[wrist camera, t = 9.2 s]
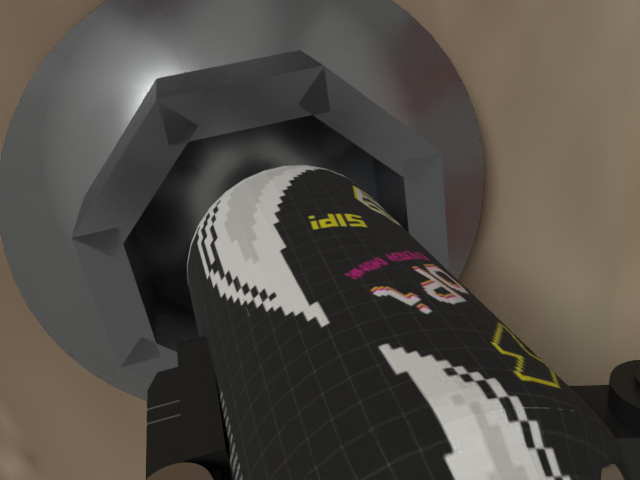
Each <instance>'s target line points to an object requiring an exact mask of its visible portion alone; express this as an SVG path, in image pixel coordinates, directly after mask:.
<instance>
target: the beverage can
mask: <svg viewBox="0 0 640 480" xmlns="http://www.w3.org/2000/svg"><path fill="white" fill-rule="evenodd" d="M187 273H188V286H189V291H190V296H191V300H192V305H193V310H194V315H195V319H196V324H197V329H198V334H199V337H203V336H206V337H207V341H208V345H209V349H210V353H211V358H212V362H213V366H214V371H215V377H216V384H217V390H218V396H219V402H220V408H221V414H222V420H223V426H224V432H225V438H226V444H227V450H228V455H229V461H230V480H601V472H602V469H603V467H604V466H605V465H606V464H607V463H609V462H612V463H614V464H615V465H616V466H617V467H618V469H619V470H620V472H621V474H622V476H623V478H624V480H631V475H630V471H629V466H628V464H627V462H626V460H625V457H624V455H623V453H622V450H621V448H620V446H619V444H618V442H617V440H616V439H615V437H614V435H613V433H612V432H611V431H610V429H609V428H608V427H607V425H606V424H605V423H604V422H603V421H602V420H601V419H600V417H599V416H598V415H597V414H596V413H595V412H594V411H593V410H592V409H591V408H590V407H589V406H588V405H587V404H586V403H585V402H584V401H583V400H582V399H581V398H580V397H579V396H578V395H577V394H576V393H575V392H574V391H573V390H572V389H571V388H570V387H569V386H568V385H567V384H566V383H565V382H563V381H562V380H561V379H560V378H559V377H558V376H557V375H556V374H555V373H554V372H553V371H552V370H551V369H550V368H549V367H548V366H547V365H546V364H545V363H544V362H543V361H542V360H541V359H540V358H539V357H537V356H536V355H535V354H534V353H533V352H532V351H531V350H530V349H529V348H528V347H527V346H526V345H525V344H524V343H523V342H522V341H521V340H520V339H519V338H518V337H517V336H516V335H515V334H514V333H512V332H511V331H510V330H509V329H508V328H507V327H506V326H505V325H504V324H503V323H502V322H501V321H500V320H499V319H498V318H497V317H496V316H495V315H494V314H493V313H492V312H491V311H490V310H489V309H487V308H486V307H485V306H484V305H483V304H482V303H481V302H480V301H479V300H478V299H477V298H476V297H475V296H474V295H473V294H472V293H471V292H470V291H469V290H468V289H467V288H466V287H465V286H464V285H462V284H461V283H460V282H459V281H458V280H457V279H456V278H455V277H454V276H453V275H452V274H451V273H450V272H449V271H448V270H447V269H446V268H445V267H444V266H443V265H442V264H441V263H440V262H439V261H437V260H436V259H435V258H434V257H433V256H432V255H431V254H430V253H429V252H428V251H427V250H426V249H425V248H424V247H423V246H422V245H421V244H420V243H419V242H418V241H417V240H416V239H415V238H414V237H412V236H411V235H410V234H409V233H408V232H407V231H406V230H405V229H404V228H403V227H402V226H401V225H400V224H399V223H398V222H397V221H396V220H395V219H394V218H393V217H392V216H391V215H390V214H389V213H387V212H386V211H385V210H384V209H383V208H382V207H381V206H380V205H379V204H378V203H377V202H376V201H375V200H374V199H373V198H372V197H371V196H370V195H369V194H368V193H367V192H366V191H365V190H364V189H362V188H361V187H360V186H359V185H357V184H356V183H354V182H353V181H351V180H350V179H348V178H347V177H345V176H344V175H341V174H338V173H336V172H333V171H331V170H328V169H326V168H320V167H314V166H308V165H295V166H282V167H278V168H273V169H269V170H265V171H262V172H260V173H257V174H255V175H253V176H251V177H248V178H246V179H244V180H242V181H241V182H239V183H238V184H236V185H235V186H233V187H232V188H231V189H229V190H228V191H226V192H225V193H224V194H223V195H222V196H221V197H220V198H219V199H218V200H217V201H216V202H215V203H214V204H213V205H212V206H211V207H210V208H209V210H208V211H207V213H206V214H205V216H204V217H203V219H202V220H201V222H200V223H199V225H198V227H197V230H196V232H195V235H194V237H193V239H192V242H191V245H190V251H189V256H188V262H187Z"/></svg>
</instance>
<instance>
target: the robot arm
mask: <svg viewBox="0 0 640 480" xmlns="http://www.w3.org/2000/svg"><path fill="white" fill-rule="evenodd" d="M177 359H178V367H175V368H171V369H167V370H164V371H160V372H157V374H156V376H155V378H154V379H153V381H152V383H151V385H150V386H149V388H148V390H147V409H148V411H147V424H148V425H147V447H146V480H230V461H229V455H228V450H227V444H226V438H225V432H224V426H223V420H222V414H221V408H220V402H219V396H218V390H217V384H216V377H215V371H214V366H213V362H212V358H211V353H210V349H209V345H208V341H207V337H206V336H203V337H199V338H195V339H191V340H187V341H184V342H180V343H177ZM569 387H570V388H571V389H572V390H573V391H574V392H575V393H576V394H577V395H578V396H579V397H580V398H581V399H582V400H583V401H584V402H585V403H586V404H587V405H588V406H589V407H590V408H591V409H592V410H593V411H594V412H595V413H596V414H597V415H598V416H599V417H600V419H601V420H602V421H603V422H604V423H605V424H606V425H607V427H608V428H609V429H610V431H611V432H612V433H613V435H614V437H615V439H616V440H617V442H618V444H619V446H620V448H621V450H622V453H623V455H624V457H625V460H626V462H627V464H628V466H629V471H630V475H631V480H640V360H633V361H628V362H625V363H622V364H620V365H618V366H617V367H616V368H614V369H613V371H612V372H611V375H610V381H609V385H592V386H569ZM601 480H624V478H623V476H622V474H621V472H620V470H619V469H618V467H617V466H616V465H615V464H614V463H612V462H609V463H607V464H606V465H605V466H604V467H603V469H602V472H601Z"/></svg>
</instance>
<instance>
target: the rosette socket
mask: <svg viewBox="0 0 640 480" xmlns="http://www.w3.org/2000/svg"><path fill="white" fill-rule="evenodd" d="M295 165H308V166H314V167H320V168H326V169H328V170H331V171H333V172H336V173H338V174H341V175H344V176H345V177H347V178H348V179H350V180H351V181H353V182H354V183H356V184H357V185H359V186H360V187H361V188H362V189H364V190H365V191H366V192H367V193H368V194H369V195H370V196H371V197H372V198H373V199H374V200H375V201H376V202H377V203H378V204H379V205H380V206H381V207H382V208H383V209H384V210H385V211H386V212H387V213H389V214H390V215H391V216H392V217H393V218H394V219H395V220H396V221H397V222H398V223H399V224H400V225H401V226H402V227H403V228H404V229H405V230H406V231H407V232H408V233H409V234H410V235H411V236H412V237H414V238H415V239H416V240H417V241H418V242H419V243H420V244H421V245H422V246H423V247H424V248H425V249H426V250H427V251H428V252H429V253H430V254H431V255H432V256H433V257H434V258H435V259H436V260H437V261H439V262H440V263H441V264H442V265H443V266H444V267H445V268H446V269H447V270H448V271H449V272H450V273H451V274H452V275H453V276H454V277H455V278H456V279H457V280H458V279H459V277H460V275H461V274H462V271H463V269H464V266H465V264H466V262H467V259H468V257H469V255H470V252H471V250H472V247H473V243H474V240H475V236H476V233H477V229H478V226H479V222H480V215H481V209H482V203H483V197H484V159H483V149H482V140H481V136H480V132H479V127H478V123H477V119H476V114H475V111H474V109H473V106H472V104H471V101H470V98H469V96H468V93H467V91H466V88H465V86H464V84H463V82H462V80H461V78H460V77H459V75H458V73H457V71H456V69H455V68H454V66H453V64H452V62H451V61H450V59H449V58H448V56H447V55H446V54H445V52H444V51H443V50H442V48H441V47H440V46H439V45H438V43H437V42H436V41H435V39H434V38H433V37H432V35H431V34H430V33H429V32H428V31H427V30H426V29H425V28H424V27H422V26H421V25H420V24H419V23H418V22H417V21H416V20H415V19H414V18H413V17H412V16H411V15H410V14H409V13H408V12H407V11H405V10H404V9H403V8H401V7H400V6H398V5H397V4H396V3H394V2H393V1H392V0H106V1H105V2H103V3H102V4H101V5H100V6H98V7H97V8H96V9H95V10H94V11H92V12H91V13H90V14H89V15H87V16H86V17H85V18H84V19H82V20H81V21H80V22H79V23H78V24H76V25H75V26H74V27H73V28H72V29H71V30H70V31H69V32H68V33H67V34H66V35H65V36H64V38H63V39H62V40H61V41H60V42H59V43H58V44H57V45H56V46H55V47H54V49H53V50H52V51H51V52H50V53H49V54H48V55H47V56H46V58H45V59H44V61H43V62H42V64H41V65H40V67H39V68H38V70H37V71H36V73H35V74H34V76H33V77H32V79H31V80H30V82H29V83H28V85H27V86H26V88H25V90H24V93H23V95H22V97H21V99H20V101H19V103H18V106H17V108H16V110H15V112H14V114H13V116H12V119H11V122H10V125H9V129H8V132H7V136H6V139H5V143H4V146H3V150H2V153H1V161H0V231H1V236H2V241H3V247H4V252H5V255H6V257H7V260H8V263H9V266H10V269H11V272H12V275H13V277H14V280H15V282H16V284H17V286H18V288H19V290H20V292H21V294H22V296H23V298H24V300H25V301H26V303H27V305H28V307H29V309H30V310H31V312H32V313H33V314H34V316H35V317H36V318H37V320H38V321H39V323H40V324H41V325H42V327H43V328H44V329H45V331H46V332H47V333H48V334H49V335H50V336H51V337H52V339H53V340H54V341H55V342H56V343H57V344H58V345H59V346H60V347H61V348H62V349H63V350H64V351H65V352H66V353H67V354H68V355H69V356H71V357H72V358H73V359H74V360H76V361H77V362H78V363H79V364H81V365H82V366H83V367H84V368H86V369H87V370H88V371H89V372H91V373H92V374H94V375H96V376H97V377H99V378H101V379H102V380H104V381H106V382H107V383H109V384H111V385H112V386H114V387H116V388H118V389H120V390H122V391H125V392H127V393H129V394H131V395H134V396H136V397H138V398H140V399H143V400H146V401H147V390H148V388H149V386H150V385H151V383H152V381H153V379H154V378H155V376H156V374H157V372H160V371H164V370H167V369H171V368H175V367H178V359H177V343H180V342H184V341H187V340H191V339H195V338H199V334H198V329H197V324H196V319H195V315H194V310H193V305H192V300H191V296H190V291H189V286H188V273H187V262H188V256H189V251H190V245H191V242H192V239H193V237H194V235H195V232H196V230H197V227H198V225H199V223H200V222H201V220H202V219H203V217H204V216H205V214H206V213H207V211H208V210H209V208H210V207H211V206H212V205H213V204H214V203H215V202H216V201H217V200H218V199H219V198H220V197H221V196H222V195H223V194H224V193H225V192H226V191H228V190H229V189H231V188H232V187H233V186H235V185H236V184H238V183H239V182H241V181H242V180H244V179H246V178H248V177H251V176H253V175H255V174H257V173H260V172H262V171H265V170H269V169H273V168H278V167H282V166H295Z"/></svg>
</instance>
